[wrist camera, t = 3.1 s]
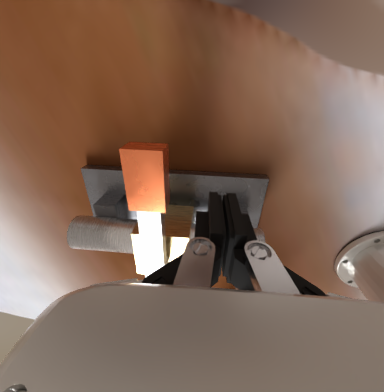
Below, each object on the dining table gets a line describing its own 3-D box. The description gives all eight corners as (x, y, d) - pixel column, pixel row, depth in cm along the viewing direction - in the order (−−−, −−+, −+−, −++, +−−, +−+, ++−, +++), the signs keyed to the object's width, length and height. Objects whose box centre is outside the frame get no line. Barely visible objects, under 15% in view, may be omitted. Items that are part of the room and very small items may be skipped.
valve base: (266, 174, 27) (292, 215, 18) (248, 248, 34) (262, 303, 25) (86, 164, 28) (32, 197, 20) (105, 237, 35) (71, 285, 26)
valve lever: (173, 266, 22) (169, 288, 20) (148, 264, 23) (140, 286, 20) (170, 141, 15) (162, 151, 13) (133, 139, 16) (118, 148, 13)
